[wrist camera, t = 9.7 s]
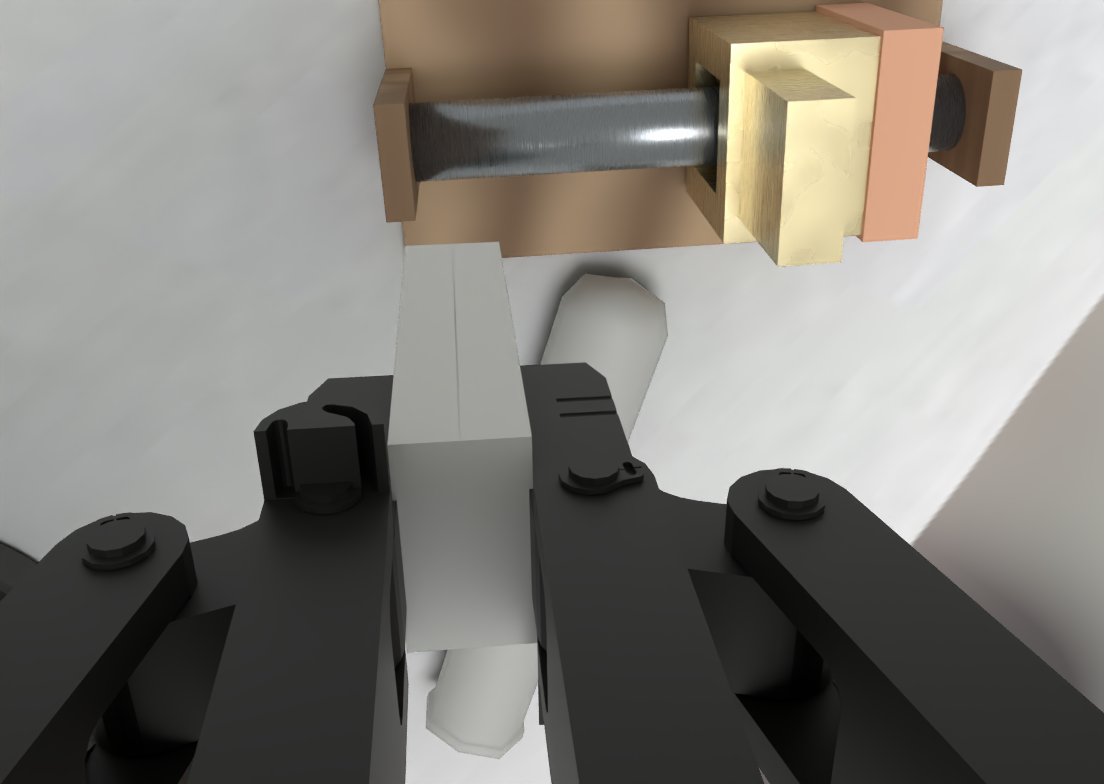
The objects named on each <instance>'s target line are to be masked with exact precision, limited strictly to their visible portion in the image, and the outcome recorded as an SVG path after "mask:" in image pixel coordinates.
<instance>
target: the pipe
mask: <svg viewBox="0 0 1104 784" xmlns="http://www.w3.org/2000/svg"><path fill="white" fill-rule="evenodd" d="M719 96H720V86H714V87H695V88H677V89H659V90H640V91H622V92H604V93H585V94H567V95H549V96H530V97H512V98H494V99H475V100H457V101H439V102H420V103H409V125H410V140H411V151H412V161H413V169H414V175H415V180H416V182H426V181H443V180H460V179H477V178H494V177H511V176H528V175H545V174H562V173H579V172H596V171H613V170H630V169H647V168H664V167H681V166H698V165H715V164H717V154H718V125H719ZM965 117H966V99H965V93H964V89H963V86H962V83H961V81H960V79H959V78H958V77H957V76H956V75H955V74H938V79H937V87H936V95H935V103H934V111H933V119H932V127H931V134H930V142H929V150H928V152H937V151H950V150H952V149H953V148H955V146H956V145H957V144H958V142H959V140H960V138H961V135H962V132H963V129H964V124H965Z"/></svg>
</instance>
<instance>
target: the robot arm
mask: <svg viewBox="0 0 1104 784" xmlns="http://www.w3.org/2000/svg"><path fill="white" fill-rule="evenodd" d="M254 437H255V443H256V450H257V456H258V462H259V469H260V475H261V481H262V488H263V494H264V504H263V507H262V511H261V515H260V518H259V520H258V521H257V522H255V523H252V524H250V525H248V526H246V527H244V528H242V529H239V530H236V531H233V532H230V533H227V534H223V535H220V536H216V537H212V538H208V539H204V540H200V541H196V542H192V543H190V541H189V537H188V534H187V530H186V527H185V525H184V524H182V523H181V522H179V521H178V520H176V519H175V518H173V517H172V516H167V515H162V514H157V513H152V512H146V513H122V514H116V516H113V515H111V516H108V517H104V518H101V519H99V520H97V521H95V522H93V523H91V524H88V525H86V526H84V527H81V528H79V529H77V530H75V531H74V532H72V533H71V534H70V535H68V536H67V537H66V538H64V539H63V540H62V541H60V542H59V543H58V544H56V545H55V546H54V547H53V549H52V550H51V551H50V552H49V553H48V554H47V555H46V556H45V557H44V558H43V559H42V560H41V561H40V562H39V563H38V564H37V563H35V562H34V561H32V560H31V559H29V558H27V557H26V556H24V555H22V554H20V553H19V552H17V551H15V550H13V549H11V548H9V547H7V546H5V545H2V544H0V784H405V773H406V742H407V712H408V674H407V663H406V653H405V636H406V647H407V653H411V652H424V651H437V650H451V649H464V648H478V647H491V646H504V645H518V644H531V643H537V653H538V694H539V725H544V726H545V734H546V742H547V751H548V759H549V767H550V775H551V783H552V784H764V782H763V779H762V776H761V773H760V770H761V771H762V773H763V774H764V775H765V777H766V778H767V780H768V781H769V783H770V784H1104V713H1103V712H1102V711H1101V710H1100V709H1098V708H1097V707H1096V706H1095V705H1094V704H1092V702H1090V701H1089V700H1088V699H1087V698H1086V697H1085V696H1083V695H1082V694H1081V693H1080V692H1079V691H1078V690H1077V689H1075V688H1074V687H1073V686H1072V685H1071V684H1070V683H1068V682H1067V681H1066V680H1065V679H1064V678H1063V677H1062V676H1060V675H1059V674H1058V673H1057V672H1056V671H1055V670H1054V669H1052V668H1051V667H1050V666H1049V665H1047V664H1046V663H1045V662H1044V661H1043V660H1042V659H1041V658H1040V657H1039V656H1037V655H1036V654H1035V653H1034V652H1033V651H1031V650H1030V649H1029V648H1028V647H1027V646H1026V645H1024V643H1022V642H1021V641H1020V640H1019V639H1018V638H1017V637H1015V636H1014V635H1013V634H1012V633H1011V632H1009V630H1007V629H1006V628H1005V627H1004V626H1003V625H1002V624H1000V623H999V622H998V621H997V620H996V619H995V618H994V617H992V616H991V615H990V614H989V613H988V612H987V611H985V610H984V609H983V608H982V607H981V606H980V605H979V604H977V603H976V602H975V601H974V600H973V599H972V598H970V597H969V596H968V595H967V594H966V593H965V592H964V591H962V590H961V589H960V588H959V587H958V586H957V585H956V584H954V583H953V582H952V581H951V580H950V579H949V578H947V577H946V576H945V575H944V574H943V573H942V572H940V571H939V570H938V569H937V568H936V567H935V566H934V565H932V564H931V563H930V562H929V561H928V560H927V559H925V558H924V557H923V556H922V555H921V554H920V553H919V552H917V551H916V550H915V549H914V548H913V547H912V546H911V545H909V544H908V543H907V542H906V541H905V540H904V539H902V538H901V537H900V536H899V535H898V534H897V533H896V532H894V531H893V530H892V529H891V528H890V527H889V526H888V525H886V524H885V523H884V522H883V521H882V520H881V519H879V518H878V517H877V516H876V515H875V514H874V513H873V512H871V511H870V510H869V509H868V508H867V507H866V506H864V505H863V504H862V503H861V502H860V501H859V500H858V499H856V498H855V497H854V496H853V495H852V494H851V493H849V492H848V491H847V490H846V489H844V488H843V487H841V486H840V485H838V484H836V483H835V482H833V481H831V480H830V479H828V478H825V477H822V476H819V475H815V474H812V473H809V472H807V471H803V470H797V469H794V470H791V469H786V468H779V469H774V470H762V471H757V472H754V473H751V474H749V475H746V476H743V477H741V478H739V479H738V480H737V481H736V482H735V483H734V484H733V485H732V486H730V488H729V493H728V498H727V504H719V503H711V502H703V501H696V500H691V499H685V498H680V497H677V496H674V495H671V494H668V493H665V492H663V491H661V490H659V488H658V485H657V482H656V479H655V477H654V474H653V473H652V472H651V471H650V469H649V468H648V467H647V465H646V464H645V463H643V462H641V461H639V460H638V459H636V458H634V457H632V454H631V451H630V448H629V445H628V442H627V439H626V436H625V433H624V430H623V427H622V424H621V421H620V418H619V415H618V414H617V410H616V407H615V404H614V401H613V399H612V395H611V392H610V389H609V386H608V383H607V380H606V377H604V376H603V375H602V374H600V373H599V372H598V371H596V370H595V369H594V368H592V367H591V366H590V365H588V364H587V363H586V362H582V363H563V364H544V365H525V366H520V363H519V357H518V351H517V346H516V340H515V334H514V328H513V322H512V316H511V310H510V304H509V298H508V292H507V286H506V280H505V274H504V269H503V263H502V257H501V251H500V245H499V242H483V243H460V244H437V245H413V246H405V253H404V265H403V276H402V287H401V298H400V309H399V321H398V332H397V343H396V354H395V365H394V375H388V376H369V377H351V378H332V379H327V380H326V381H325V382H324V383H323V384H322V385H321V386H320V387H319V388H317V389H316V390H315V391H314V392H313V393H312V394H311V395H310V396H309V397H308V401H307V402H302V403H298V404H295V405H292V406H289V407H286V408H283V409H280V410H278V411H276V412H274V413H273V414H271V415H270V416H268V417H266V418H265V419H263V420H262V421H261V422H260V424H259V425H258V426H257V428H256V429H255V430H254ZM758 767H759V768H760V770H759V768H758Z"/></svg>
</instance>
